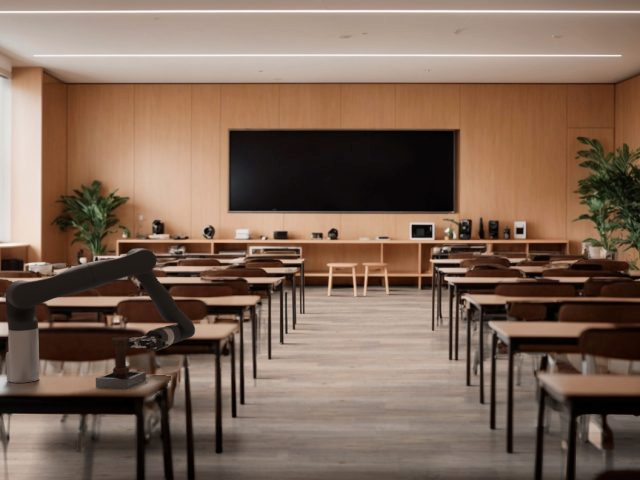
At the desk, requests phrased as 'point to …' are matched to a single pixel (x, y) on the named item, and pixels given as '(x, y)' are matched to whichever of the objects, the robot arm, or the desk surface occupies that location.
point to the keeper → (120, 380)
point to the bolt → (120, 356)
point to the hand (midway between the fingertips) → (135, 346)
